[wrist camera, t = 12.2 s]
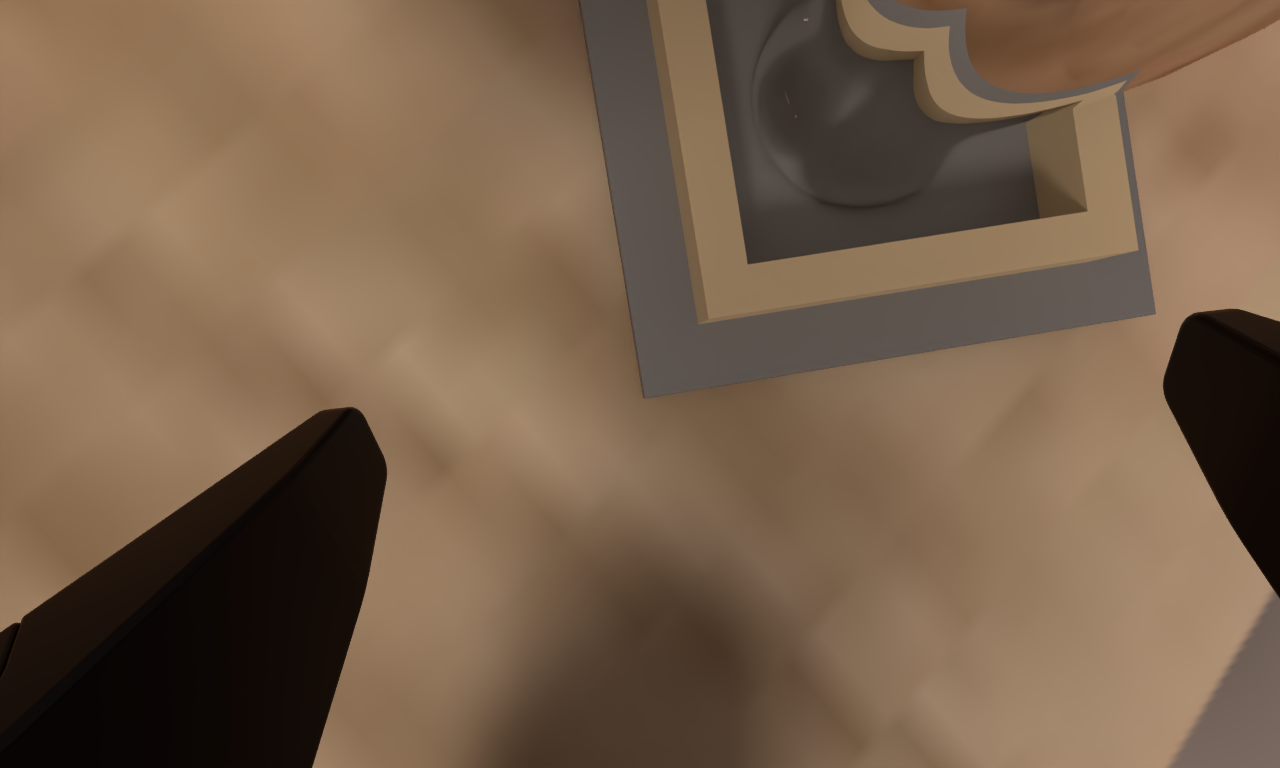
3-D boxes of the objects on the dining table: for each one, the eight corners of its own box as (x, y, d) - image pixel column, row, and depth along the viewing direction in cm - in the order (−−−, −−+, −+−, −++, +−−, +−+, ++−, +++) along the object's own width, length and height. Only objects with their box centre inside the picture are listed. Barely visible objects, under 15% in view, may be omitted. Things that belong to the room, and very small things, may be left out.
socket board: (1135, 316, 22) (1213, 308, 19) (643, 397, 21) (649, 401, 18) (1061, -186, 22) (1130, -269, 19) (559, -121, 21) (552, -199, 18)
